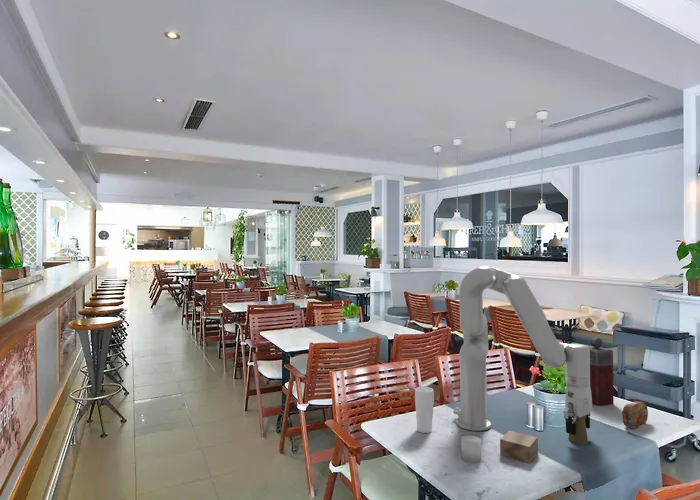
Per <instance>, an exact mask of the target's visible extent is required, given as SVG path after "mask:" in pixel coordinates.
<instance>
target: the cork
mask: <svg viewBox="0 0 700 500" xmlns="http://www.w3.org/2000/svg"><path fill="white" fill-rule="evenodd" d="M571 413H572V412H571ZM570 416H571V415H570ZM586 416H587V415H585V416H583V417H578V416H577V417H576V420H575V423H576V435H572V434H569V433H568V441H569V442H572V443H575V444H578V445H586V444H589V439H588V432H587V428H586V424H585V418H586ZM571 418H573V416H571Z"/></svg>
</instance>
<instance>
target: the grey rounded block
mask: <svg viewBox="0 0 700 500" xmlns="http://www.w3.org/2000/svg"><path fill="white" fill-rule="evenodd" d="M460 440H461V441H460V442H461V450H460V451H461V460H463V461H464V462H466V463H469V464H478V463H479V464H480V462H482V439H481V438H480V437H478V436H475V435H463V436H461V439H460Z"/></svg>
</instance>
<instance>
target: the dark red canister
mask: <svg viewBox="0 0 700 500" xmlns="http://www.w3.org/2000/svg"><path fill="white" fill-rule="evenodd" d="M602 345H603V340H602V339H601V338H600V337H596V336H595V337H592V338H591V340H590V346H587V347H588V348H589V350H590V388H591V396H592V406H596V407H601V406H610V405H614V403H615V401H614V400H615V399H614V351H613V350H612V349H611V348H610V349H609V348H606V347H602Z"/></svg>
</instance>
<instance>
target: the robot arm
mask: <svg viewBox="0 0 700 500" xmlns="http://www.w3.org/2000/svg"><path fill="white" fill-rule="evenodd" d="M486 289H489V290H491V291H494V292H497V293H500V294H504V295H505V297H506V299H507V300H508V301H509V304H510V305H511V307H512V309H513V311H514V312H515V314H516V316H517V317H518V319H519V321H520V323H521V325H522V327H523V328H524V330H525V331H526V333H527V335H528V337H529V339H530V340H531V342H532V344H533V346H534V348H535V349H536V352H537V353H538V354H539V356H540V358H541V360H542V361H543V363H544V364H545V365H546V366H548V367H551V368H555V369H556V368H561V367H563V366H564V365H565V385H566V388H565V400H564V403H565V405H564V406H565V407H564V410H563V415H564V417H563V418H564V422H565V433H566V434H568V435H569V434H572V435H576V423H575V420H576V417H577V416H578V417H583V416H585V415H587V416H586V418H585V424H586V429H588V430H589V429H591V413H592V412H593V404H592V396H591V388H590V350H589V348H588V347H589V346H587V345H585V344H581V343H580V344H579V343H566V342H565V343H564V342H559V341H558V339H557V338H556V336H555V334H554V332H553V331H552V328H551V327H550V325H549V321H548V319H547V317H546V314H545V313H544V311H543V309H542V307H541V305H540V303H539V302H538V300H537V298H536V296H535V295H534V293H533V292H532V290H531V288H530V287H529V284H528V283H527V281H526V279H525V278H523V277H522V276H520V275H516V274H513V273H510V272H507V271H505V270H501V269H498V268H495V267H492V266H488V265H481V266H478V267H476V268H474V269H472V270H471V271H469V272H468V273H467V274H465V276H464V277H463V278H462V280H461V282H460V285H459V327H460V328H459V329H460V331H461V332H462V334H463V344H462V345H461V347H460V350H459V354H458V356H459V357H458V358H459V379H460V380H459V383H460V384H459V386H460V389H459V390H460V392H459V393H460V396H459V397H460V398H459V399H460V406H459V407H458V406H455V408H454V410H453V414H454V415H457V418H456V420H455V421H456V422H455V423H456V425H457V426H458V427H459V428H461V429H465V430H468V431H475V432H484V431H488V430H490V429H491V427H492V423H491V421H490V420H488V419H487V418H488V417H487V416H488V414H487V411H488V410H487V409H488V408H487V407H488V406H487V405H488V404H487V401H488V400H487V385H488V384H487V356H488V354H489V330H488V319H487V316H486V315H485V313H484V311H483V310H484V306H483V302H484V301H483V292H484V291H485V290H486ZM571 412H572V413H571ZM570 415H571V416H573V418H571V416H570Z"/></svg>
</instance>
